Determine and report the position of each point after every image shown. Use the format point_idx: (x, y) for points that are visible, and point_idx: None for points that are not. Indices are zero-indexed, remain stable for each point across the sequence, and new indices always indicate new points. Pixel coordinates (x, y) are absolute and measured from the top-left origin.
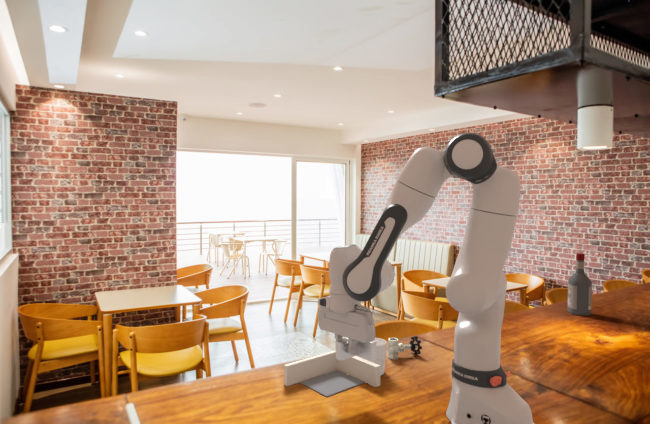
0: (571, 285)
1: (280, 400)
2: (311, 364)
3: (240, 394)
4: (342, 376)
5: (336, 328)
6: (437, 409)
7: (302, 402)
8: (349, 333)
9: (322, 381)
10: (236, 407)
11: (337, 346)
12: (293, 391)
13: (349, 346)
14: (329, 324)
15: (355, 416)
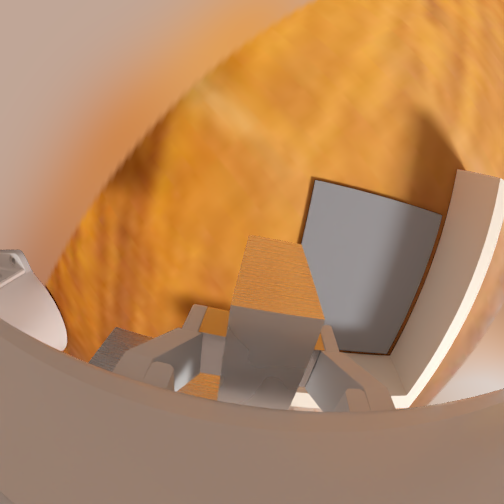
0: None
1: (409, 74)
2: (454, 286)
3: (490, 65)
4: (355, 332)
5: (371, 473)
6: (72, 308)
7: (352, 97)
8: (72, 408)
9: (391, 266)
10: (442, 4)
11: (286, 284)
12: (425, 149)
13: (177, 333)
14: (483, 460)
15: (155, 139)
